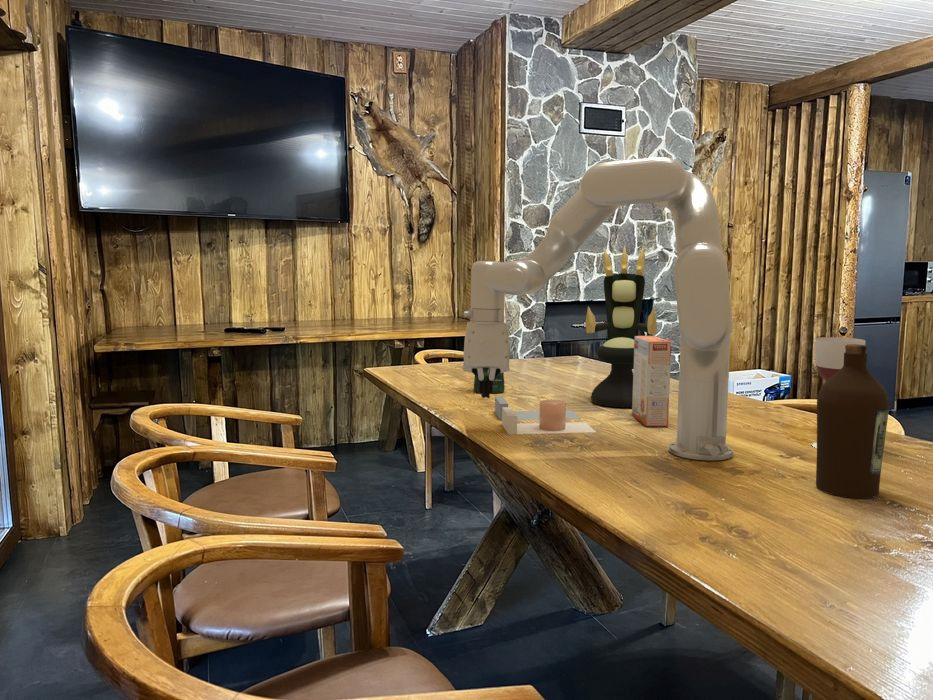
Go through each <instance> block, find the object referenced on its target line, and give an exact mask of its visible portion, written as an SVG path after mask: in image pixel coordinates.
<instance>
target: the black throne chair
mask: <svg viewBox="0 0 933 700" xmlns="http://www.w3.org/2000/svg"><path fill="white" fill-rule="evenodd" d="M645 253H646V252H645V244H643V245H642V248H641V251H640V253H639V255H638V259H637V262H636V268H635V273H628V268H629V255H628V253H627V249H626V245H624V246H623V251H622V253H621V255H620V273H614V271H613V265H612V261H611V259H610V256H609V254H608V253H607V249H606V248H605V247H604V246H603V255H602V256H603V257H602V258H603V259H602V261H603V262H602V263H603V269H604V273H605V276H604V277H603V278H604V279H603V292H604V300H605V301H604V302H605V312H606V322H598V323H597V322H596V315H595V314H594V313H593V312H592V311H591V308H590V307H589V305H588V306H587V309H586V310H587V311H586V317H585V329H586V334H592V333H596V332H601V331H606V330H607V336H606V337H607V341H605V342H604V343H603V344H601V345H600V346H599V347H598V348H597V350H596V355H597V358H598V359H599V360H600V361H601V362H604V363H607V364H610V365H611V367H610V373H609V374H608V375H607V376H606V377H605V378H604V379H603V380H602V381H600V382H599V383H598V384H597V385H596V386H595V387H594V388H593V390H592V392H591V395H590V398H591V400H592V402H594V404H596V405H600V406H605V407H611V408H612V407H613V408H632V399H633V371H634V370H633V365H634V340H635V336H639V331H640V332H642V333H643V332H644V333H648V334H649V335H650V336H656V334H657V330H658V328H657V327H658V325H657V322H658V321H657V316H656V311H655V307H654V306H653V307H652V309H651V312H650V314H649V315H648V316H647V323H643V322H642V323H641V322H640V319H641V312H642V306H643V299H644V295H645V293H644V292H645V286H646V279H645V276H644V275H643V274H644V270H645V266H646V265H645V263H646V255H645Z"/></svg>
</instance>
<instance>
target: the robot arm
mask: <svg viewBox="0 0 933 700" xmlns="http://www.w3.org/2000/svg"><path fill="white" fill-rule="evenodd" d="M651 203H652V204H654V205H656V206H660V207H664V208H667V209H668V210H669V212H670V213H671V215H672V218H673V224H674V225H673V226H674V234H675V242H676V245H675V246H676V259H675V263H674V267H673V272H674V273H673V276H674V286H675V287H674V288H675V296H676V307H677V319H678V329H679V333H680V347H679V351H680V352H679V374H678V376H679V377H678V396H677V397H678V398H677V400H678V401H677V422H676V423H677V424H676V425H677V427H676V428H677V429H676V441H672V442H671V443H669V445H668V451H669V452H670V453H671V454H673V455H674V456H676V457H677V456H678V457H680V458H685V459H691V460H696V461H710V462H711V461H712V462H714V461H724V460H727V459H728V460H729V459H731V458H732V457H733V456H734V449H733V448H732V447H731V446H729V445H728V444H727V442H726V441H727V422H728V403H729V402H728V400H729V399H728V398H729V379H730V378H729V377H730V356H731V334H732V329H733V318H732V307H731V306H732V305H731V293H730V279H729V272H728V263H727V260H726V257H725V255H724V253H723V243H722V234H721V227H720V226H721V225H720V220H719V219H720V218H719V211H718V207H717V203H716V199H715V196H714V194H713V192H712V190H711V189H710V188H709V186H708V185H707V184H706V183H705V182H704V181H703V180H702V179H701V178H700V177H698V175H695V174H694V173H692V172H690V171H687V170H685V169H684V167H683V166H682V164H681V163H679V161H678V160H676V159H673V158H671V157H667V156H656V157H655V156H654V157H645V158H635V159H626V160H614V161H605V162H600V163H596V164H593V165H592V166H590V167H589V168H588V169H587V170H586V171H585V173H584V174H583V175H582V178H581V181H580V188H579V189H578V190H577V191H576V192H575V193H574V194H573V195H572V196H571V197H570V198H569V199H568V200H567V201H566V202H565V203H564V205H563V206H562V207H560V209H559V210H558V211H557V212H555V213H554V215H553V216H552V218H551V219H550V222H549V224H548V228H547V231H546V234H545V235H544V237H543V238H542V240H541V241H540V243H539V244H538V245H537V246H536V247H535V249H533V250H532V251H531V252H530V254H529V255H528V256H527V257H526V258H525V259H524V260H522V259H521V260H511V261H504V262H502V261H498V260H477V261H474V262H473V264H472V266H471V268H470V269H471V273H470V274H471V275H470V278H471V279H470V280H471V281H470V283H471V284H470V309H468V310H465V311H463V317H464V318H468V319H469V320H470V321H467V324H466V328H465V335H464V345H463V363H462V368H461V369H462V371H463V372H465V373H466V372H467V373H470V374H471V373H472V374H473V375H474V377H475V376H476V377H477V378H478V379H479V393H478V394H479V395H480V396H481V398H482V399H485V398H487V399H490V395H492V394H493V393H492V385H493V380H494V378H495V377H496V376H497V375H498V374H499V373H503V372H504V373H507V372H510V370H511V369H510V359H511V358H510V357H511V356H510V353H511V352H510V333H509V325H508V322H505V320H504V319H505V294H506V295H512V296H524V295H531V294H535V293H536V292H538V291H539V290H541V289H542V288H543V287H544V286H545V285H546V284H548V282H549V281H550V280H552V279H553V277H554V276H555V275H556V274H557V273H558V272H559V271H560V270H561V269H562V268H563V267H564V266H565V264H567V262H568V261H569V260H570V258H571V257H572V256H573V255H574V254H575V253H576V252H577V251H578V250H579V248H580V247H581V246H582V245H583V244H584V243H585V242H586V241H587V240H588V239H589V237H591V236H592V234H593V233H595V231H596V230H597V229H598V228H599V227H600V226H601V225H603V223H604V222H605V221H607V220H608V219H609V217H610V216H612V215H613V213H615V212H616V210H617V209H618V208H620V206H625V205H637V204H641V205H642V204H651ZM483 368H489V371H488V376H487V378H486V379H485V377H484V375H483Z"/></svg>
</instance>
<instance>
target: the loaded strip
mask: <svg viewBox="0 0 933 700" xmlns="http://www.w3.org/2000/svg"><path fill="white" fill-rule="evenodd" d="M501 424H502V427H503V428H504V430H505V431H506V433H507V435H537V434H538V435H539V434H540V435H541V434H542V435H544V434H545V435H546V434H548V435H549V434H579V433H580V434H584V433H585V434H586V433H597V431H596V430H595V429H594V428H592V427H591V426H590V425H589V424H588V423H587V422H584V421H583V422H581V421H580V422H566V429H564V430H561V431H547V430H542V429H540V428H539V423H538V422H536V423H535V422H532V423H518V420H517V415H516V414H515V413H514V410H513V408H512V407H511V406H508V407H502V420H501Z"/></svg>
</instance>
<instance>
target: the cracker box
mask: <svg viewBox="0 0 933 700" xmlns="http://www.w3.org/2000/svg"><path fill="white" fill-rule="evenodd" d="M672 345H673V341H671V340H667V339H664V338H662V337H659V336H657V335H638V336H635V340H634V364H633V370H632V371H633V399H632V407H631V416H633V417H634V418H635V419H636V420H637V421H639V422H640V423H641V425H642V424H643V426H644V427H651V428H652V427H656V428H657V427H658V428H659V427H661V428H664V427H668V426H669V409H670V388H671V387H670V385H671V367H672V366H671V365H672Z"/></svg>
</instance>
